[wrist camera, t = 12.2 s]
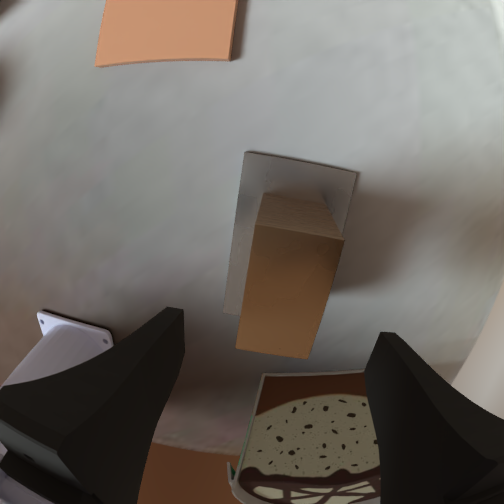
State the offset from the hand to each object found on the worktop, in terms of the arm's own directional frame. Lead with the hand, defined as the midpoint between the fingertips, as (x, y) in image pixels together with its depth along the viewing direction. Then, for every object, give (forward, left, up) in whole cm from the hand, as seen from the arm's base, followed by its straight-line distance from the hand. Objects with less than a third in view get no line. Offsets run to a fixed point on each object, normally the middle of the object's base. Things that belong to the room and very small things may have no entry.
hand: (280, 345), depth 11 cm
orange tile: (+11, +8, -8) cm, 15 cm away
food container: (-12, -5, -8) cm, 15 cm away
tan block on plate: (+1, 0, -8) cm, 8 cm away
